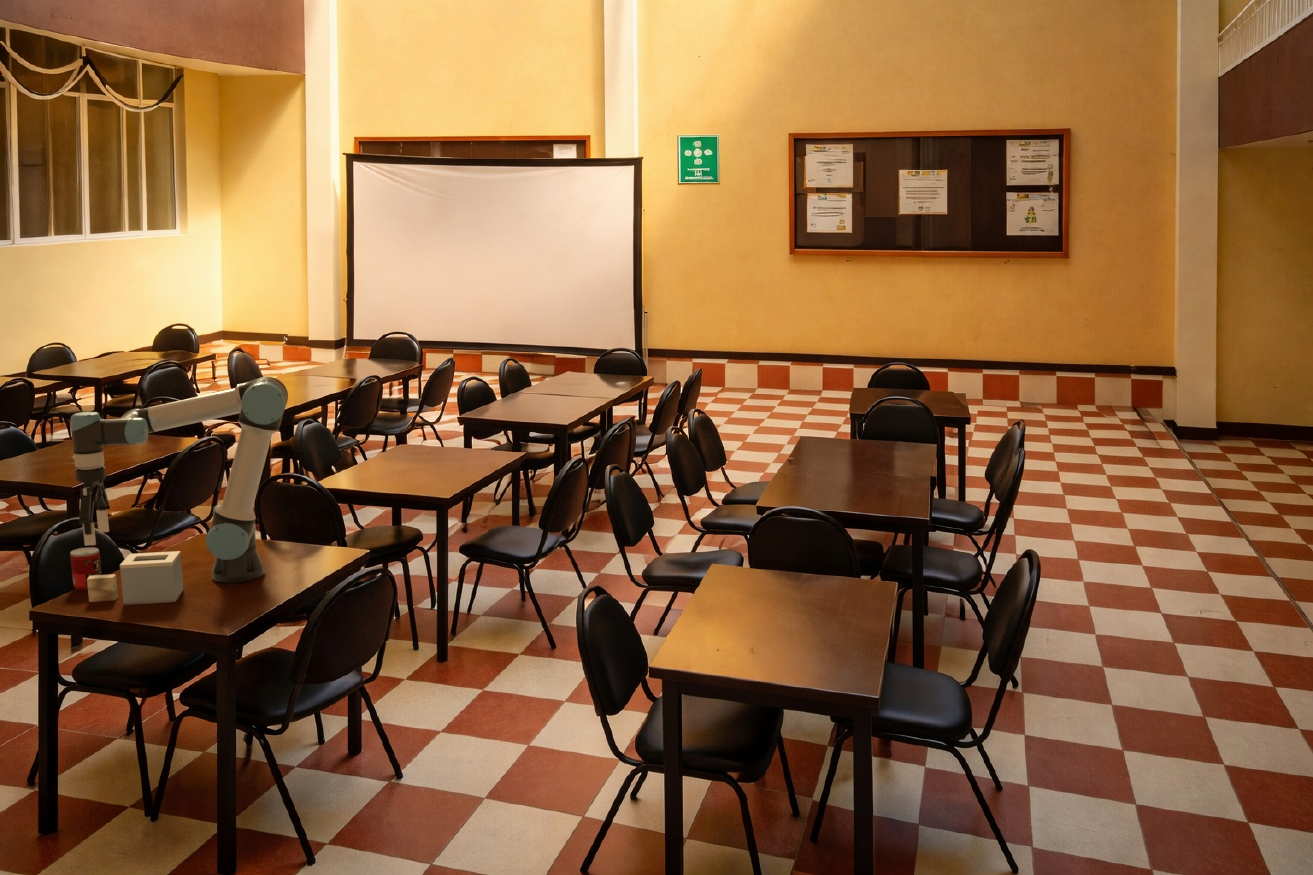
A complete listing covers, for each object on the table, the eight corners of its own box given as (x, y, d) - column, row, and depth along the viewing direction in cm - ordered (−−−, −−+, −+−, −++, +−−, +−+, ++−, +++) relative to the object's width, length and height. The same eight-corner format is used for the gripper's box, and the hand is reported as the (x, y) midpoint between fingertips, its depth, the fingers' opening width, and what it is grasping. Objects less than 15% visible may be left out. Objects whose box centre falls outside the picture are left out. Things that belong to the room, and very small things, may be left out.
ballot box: (183, 589, 327) (180, 551, 325) (175, 601, 317) (172, 562, 315) (133, 592, 325) (129, 553, 322) (123, 604, 314) (119, 565, 312)
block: (118, 596, 321) (115, 574, 320) (115, 600, 318) (113, 577, 317) (92, 598, 320) (89, 575, 318) (89, 601, 317) (86, 578, 315)
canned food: (90, 590, 326) (87, 555, 324) (67, 588, 328) (63, 553, 326) (108, 582, 334) (104, 548, 331) (85, 580, 335) (81, 546, 333)
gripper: (88, 458, 322) (95, 527, 326) (61, 476, 298) (69, 551, 303) (115, 456, 324) (122, 525, 328) (91, 475, 300) (99, 549, 304)
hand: (97, 538), depth 315 cm, fingers open, 13 cm apart
